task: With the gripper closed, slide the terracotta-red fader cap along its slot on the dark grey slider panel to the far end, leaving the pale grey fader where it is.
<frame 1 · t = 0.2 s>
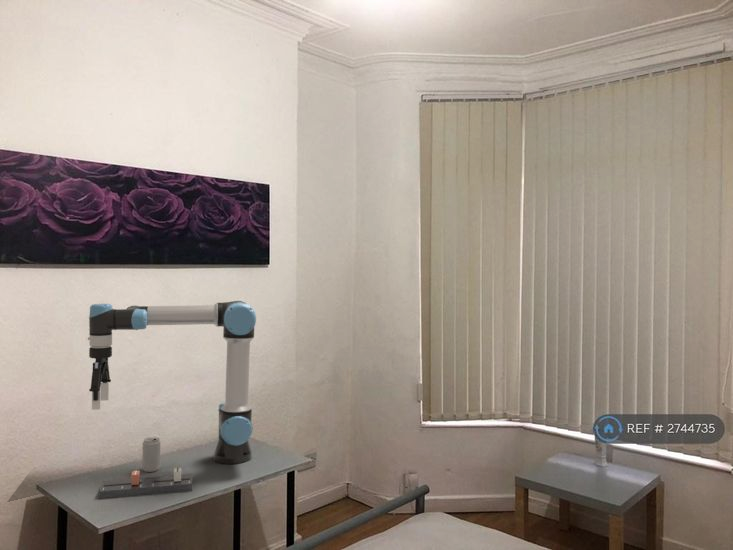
hand: (100, 404, 219), 28 cm above the table, fingers open, 13 cm apart
fader red: (135, 490, 210), resting on dark grey slider panel, slide at 0.0 cm
dark grey slider panel: (147, 489, 212), on the table
beverage can: (151, 470, 231), on the table
fader grey: (177, 486, 214), resting on dark grey slider panel, slide at 2.0 cm
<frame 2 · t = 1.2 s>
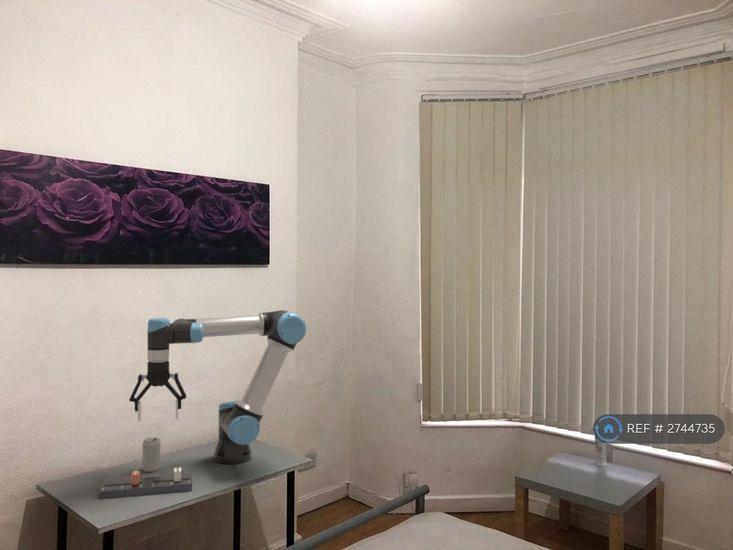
hand: (158, 419, 220), 22 cm above the table, fingers open, 12 cm apart
nothing on the table moved.
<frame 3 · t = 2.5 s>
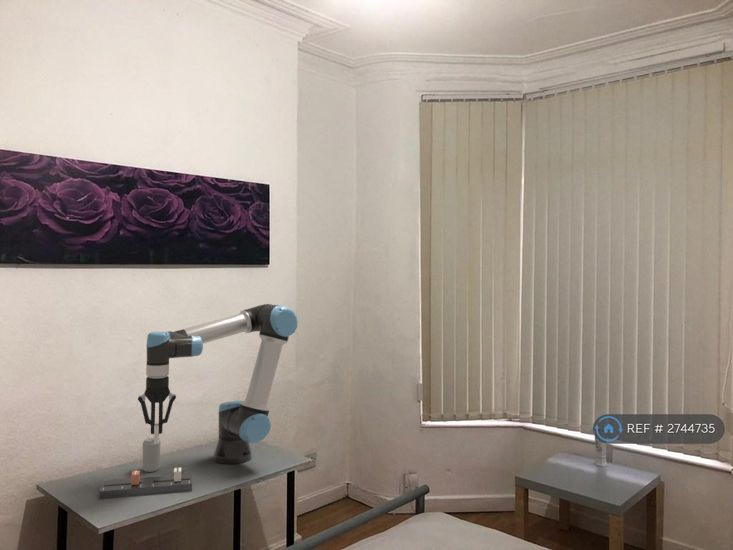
hand: (156, 442, 212), 16 cm above the table, fingers closed
nothing on the table moved.
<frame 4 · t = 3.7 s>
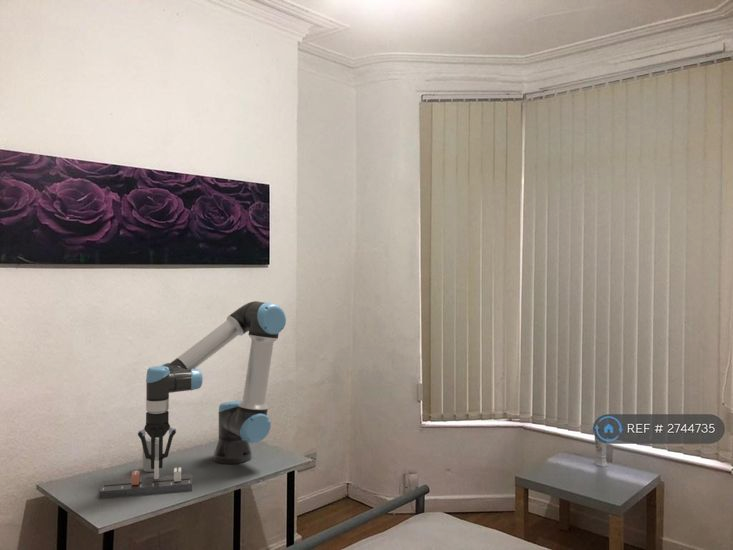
hand: (156, 477, 212), 4 cm above the table, fingers closed
nothing on the table moved.
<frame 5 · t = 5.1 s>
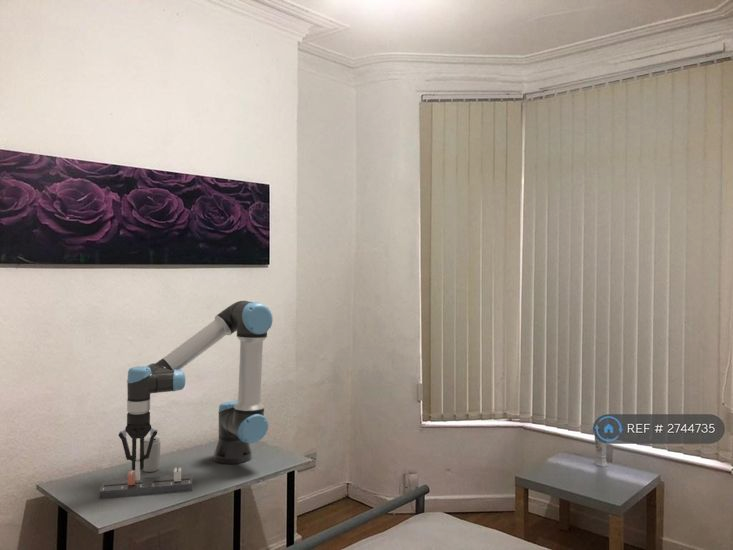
hand: (137, 478, 210), 4 cm above the table, fingers closed
fader red: (131, 490, 210), resting on dark grey slider panel, slide at 1.2 cm, touching gripper
everything else where it was.
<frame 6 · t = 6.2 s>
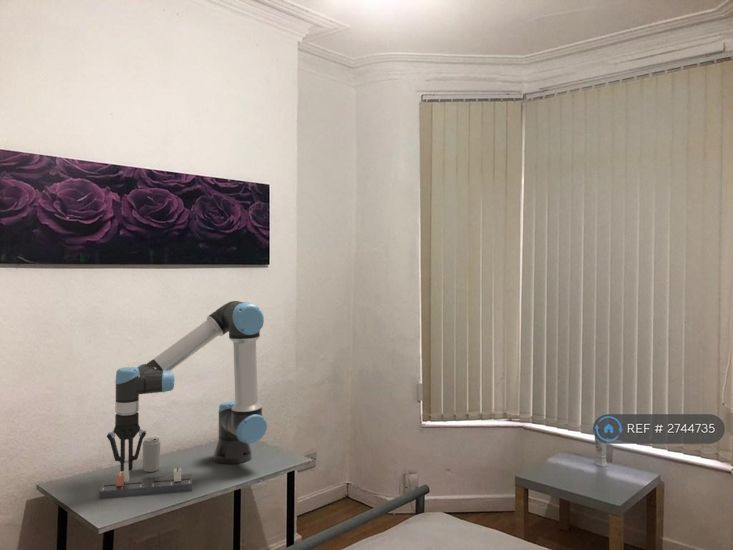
hand: (126, 479, 209), 4 cm above the table, fingers closed
fader red: (120, 491, 209), resting on dark grey slider panel, slide at 4.9 cm, touching gripper
everything else where it was.
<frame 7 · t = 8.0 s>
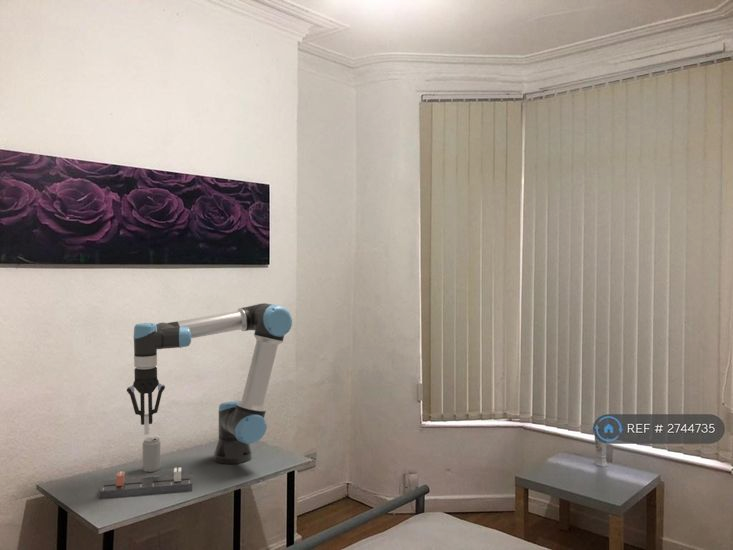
hand: (146, 433, 214), 19 cm above the table, fingers closed
fader red: (120, 491, 209), resting on dark grey slider panel, slide at 4.9 cm
everything else where it was.
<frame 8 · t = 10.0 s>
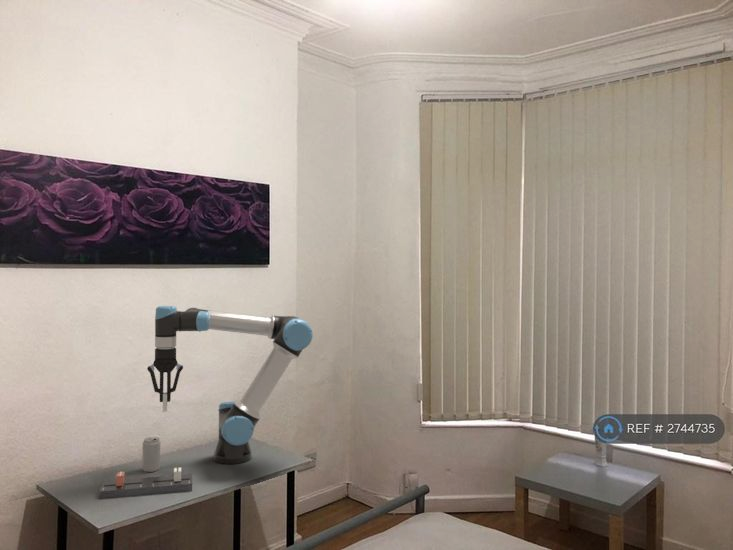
hand: (165, 410, 225), 24 cm above the table, fingers closed
nothing on the table moved.
at the end: fader red slide at 4.9 cm; fader grey slide at 2.0 cm; fader red touching nothing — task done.
